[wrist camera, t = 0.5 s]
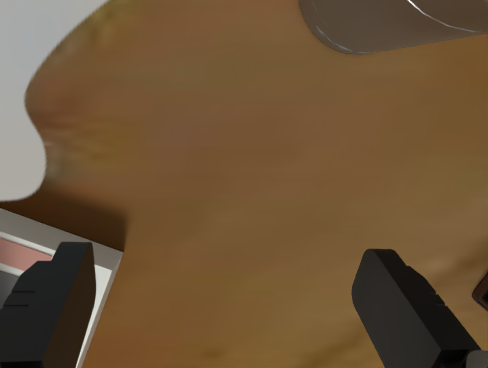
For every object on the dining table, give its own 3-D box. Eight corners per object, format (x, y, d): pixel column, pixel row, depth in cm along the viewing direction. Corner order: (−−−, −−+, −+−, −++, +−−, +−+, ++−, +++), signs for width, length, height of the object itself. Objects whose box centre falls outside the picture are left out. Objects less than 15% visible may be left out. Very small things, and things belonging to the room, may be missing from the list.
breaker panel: (-46, 191, 29) (-78, 204, 26) (123, 252, 31) (111, 271, 28) (-87, 379, 34) (-117, 408, 31) (61, 422, 36) (45, 453, 33)
